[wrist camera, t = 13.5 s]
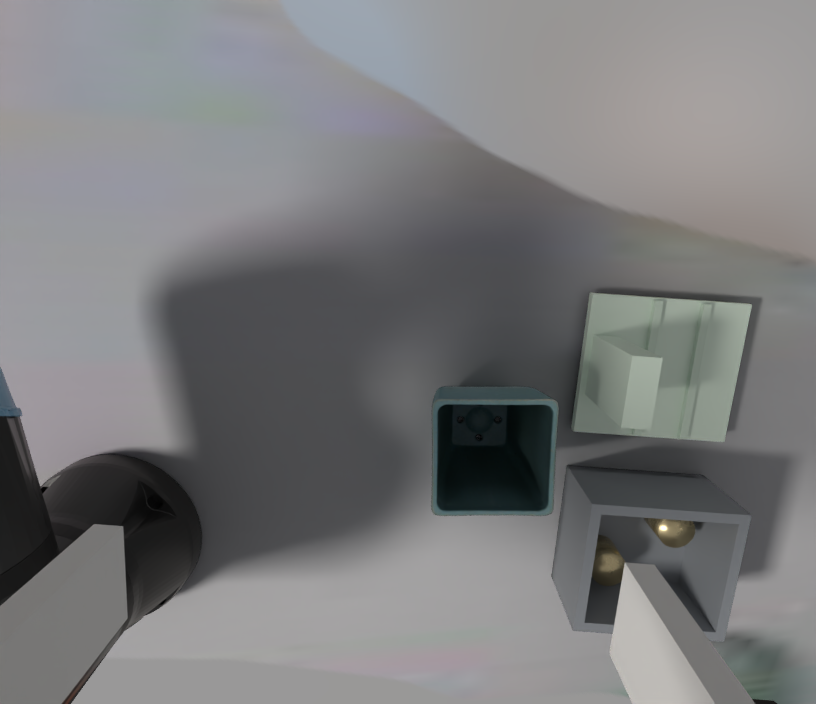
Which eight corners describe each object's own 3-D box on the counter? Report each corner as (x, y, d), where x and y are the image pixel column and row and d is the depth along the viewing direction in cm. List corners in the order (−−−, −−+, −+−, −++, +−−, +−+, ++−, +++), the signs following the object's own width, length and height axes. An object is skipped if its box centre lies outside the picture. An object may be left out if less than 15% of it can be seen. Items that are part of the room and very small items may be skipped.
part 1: (578, 563, 48) (588, 584, 45) (583, 533, 47) (593, 553, 44) (611, 566, 48) (624, 587, 45) (616, 535, 47) (629, 555, 44)
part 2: (640, 527, 47) (655, 546, 44) (646, 496, 46) (661, 513, 43) (674, 529, 47) (691, 549, 44) (680, 498, 46) (698, 516, 43)
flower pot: (532, 368, 45) (560, 399, 36) (528, 465, 47) (553, 517, 38) (429, 368, 45) (431, 399, 36) (429, 464, 47) (431, 516, 38)
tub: (551, 576, 49) (572, 630, 42) (566, 465, 47) (592, 504, 40) (681, 585, 49) (724, 641, 42) (702, 475, 47) (751, 515, 40)
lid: (568, 425, 46) (606, 472, 37) (586, 291, 44) (632, 305, 34) (713, 435, 46) (789, 485, 36) (740, 302, 43) (828, 318, 34)
